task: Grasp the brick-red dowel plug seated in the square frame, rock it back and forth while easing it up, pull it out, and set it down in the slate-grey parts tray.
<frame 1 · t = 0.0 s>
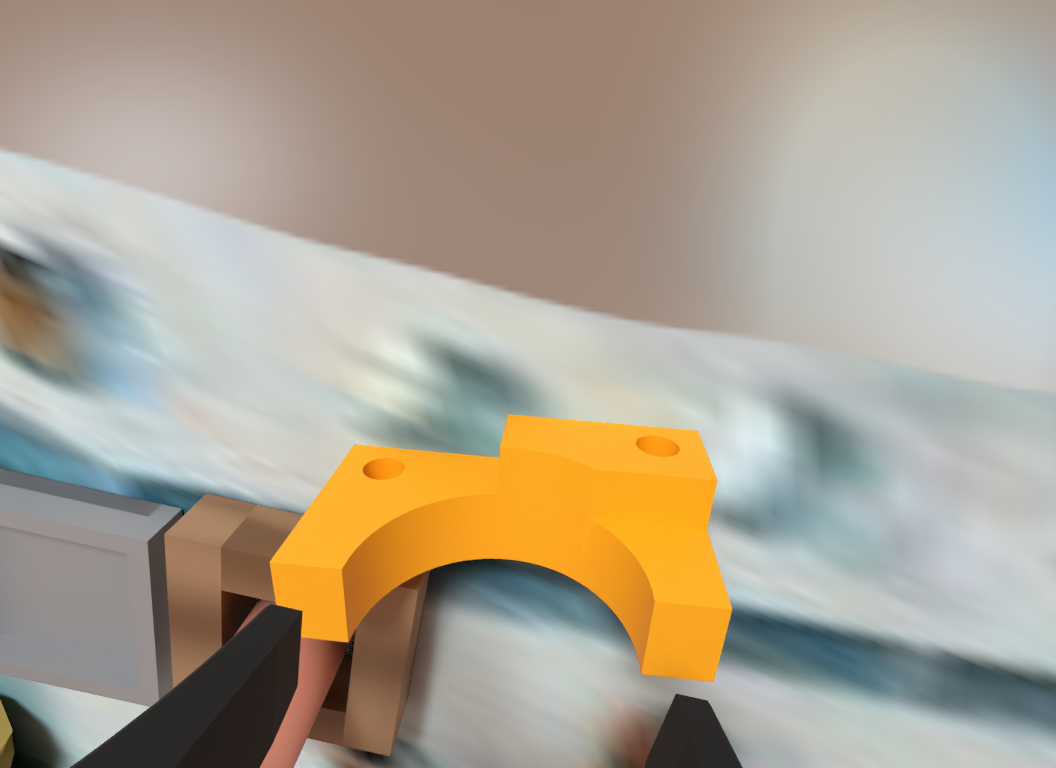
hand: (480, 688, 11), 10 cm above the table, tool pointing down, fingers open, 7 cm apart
ball valve: (4, 758, 31), on the table
pipe clamp: (519, 464, 21), on the table
parts tray: (81, 571, 25), on the table
plug: (314, 604, 24), resting in square frame
square frame: (314, 605, 24), on the table
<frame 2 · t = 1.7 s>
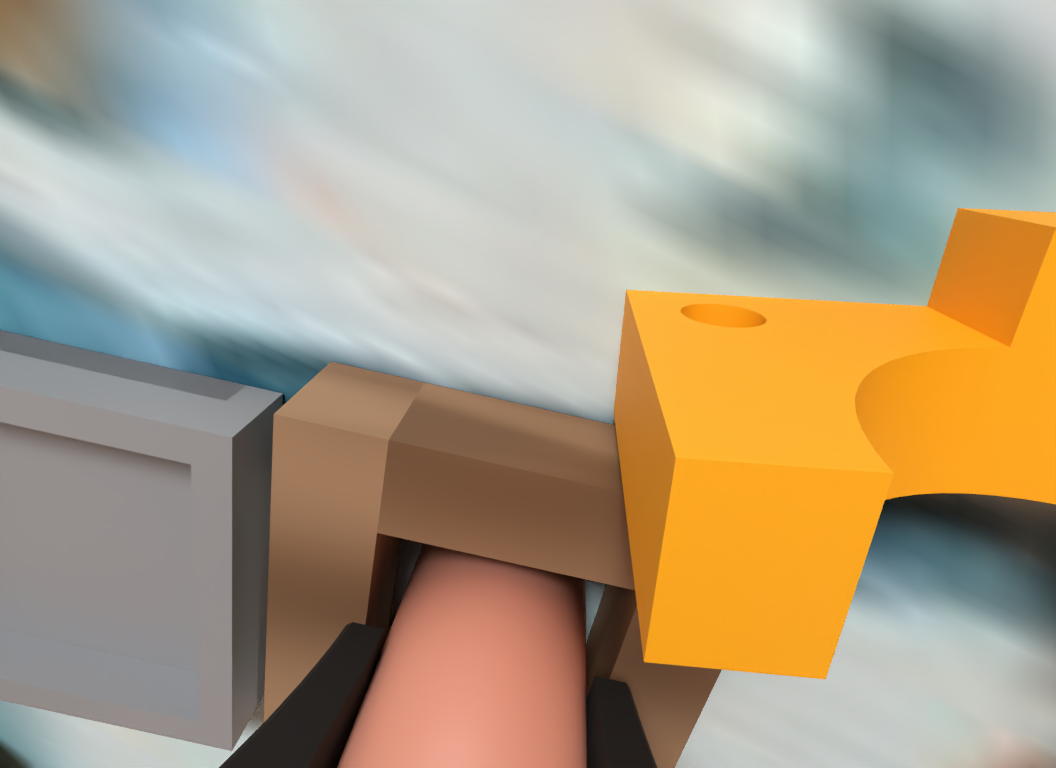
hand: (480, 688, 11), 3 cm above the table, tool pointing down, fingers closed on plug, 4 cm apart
pipe clamp: (935, 323, 11), on the table
parts tray: (97, 515, 14), on the table
plug: (501, 572, 14), resting in square frame, touching gripper
square frame: (501, 572, 14), on the table
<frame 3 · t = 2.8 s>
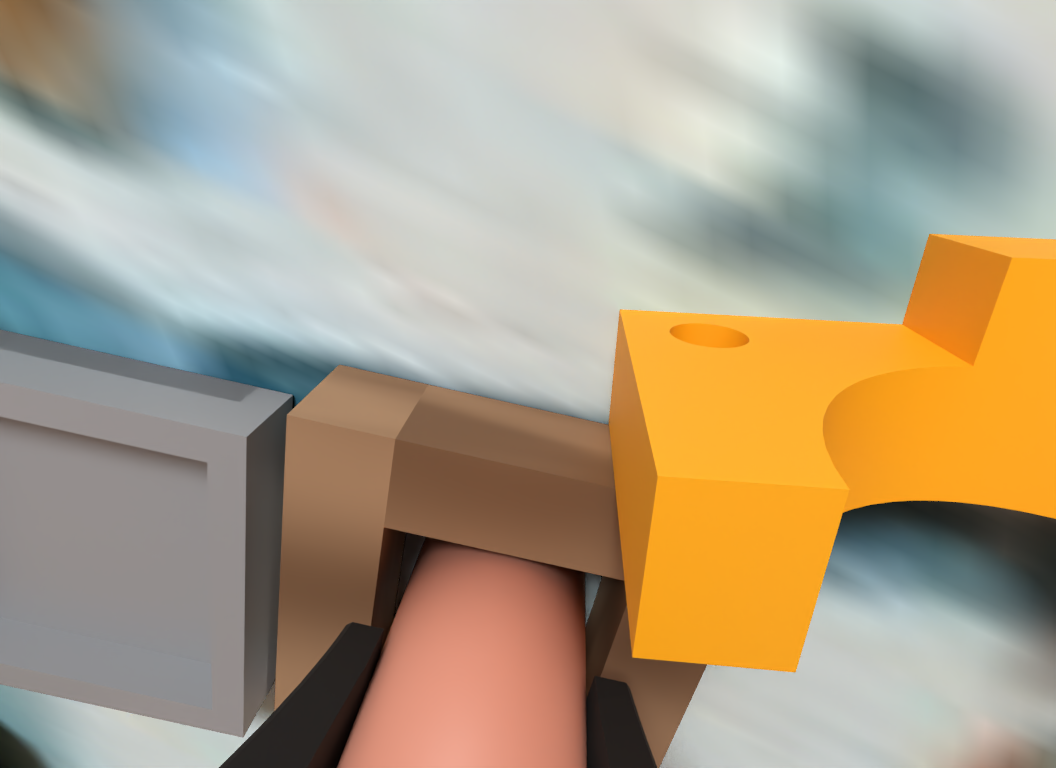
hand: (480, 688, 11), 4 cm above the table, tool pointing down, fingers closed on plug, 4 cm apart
pipe clamp: (910, 339, 12), on the table
parts tray: (114, 511, 15), on the table
plug: (501, 572, 14), point 1 cm above the table, touching gripper
square frame: (501, 566, 15), on the table
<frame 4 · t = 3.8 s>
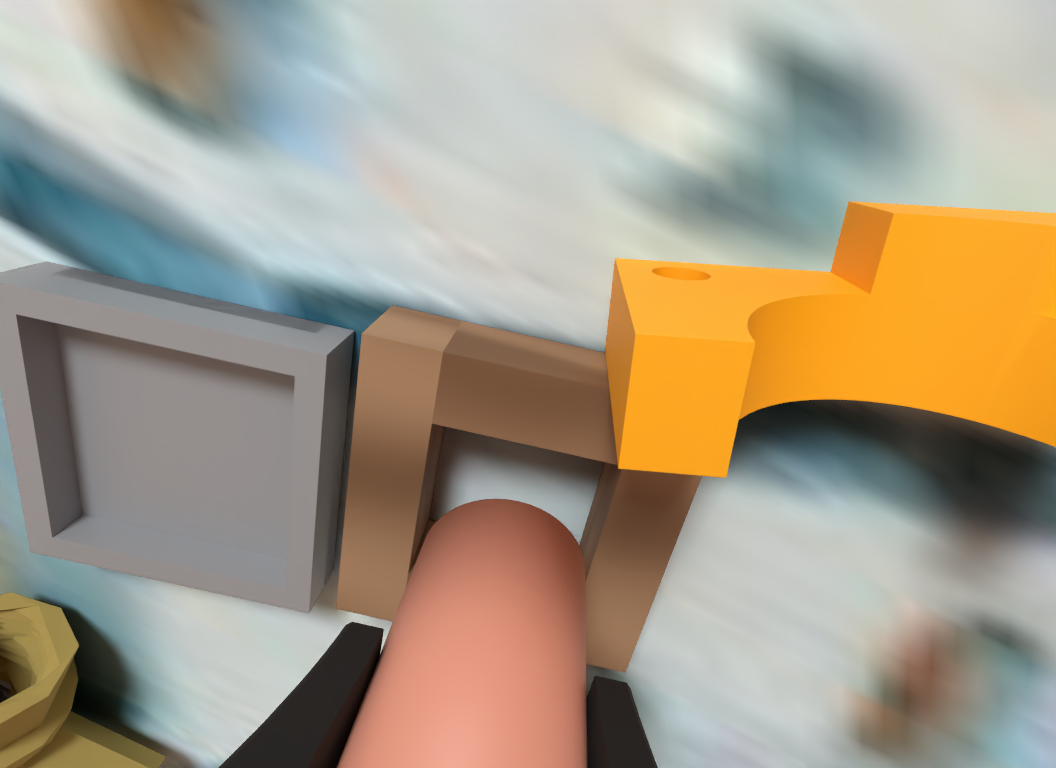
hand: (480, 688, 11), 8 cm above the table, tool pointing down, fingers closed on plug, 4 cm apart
ball valve: (60, 693, 25), on the table
pipe clamp: (838, 285, 16), on the table
parts tray: (204, 431, 18), on the table
plug: (502, 568, 14), point 4 cm above the table, touching gripper
square frame: (517, 473, 18), on the table
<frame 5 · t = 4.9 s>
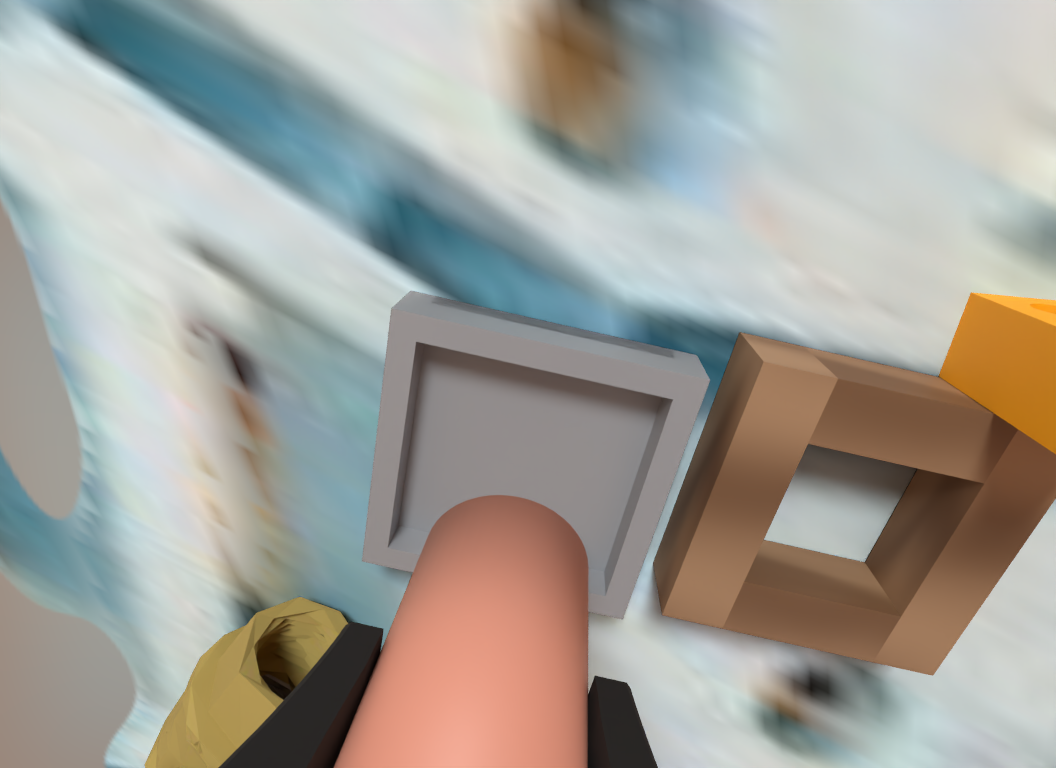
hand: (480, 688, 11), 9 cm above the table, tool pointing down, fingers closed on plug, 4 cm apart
ball valve: (305, 693, 26), on the table
parts tray: (524, 447, 20), on the table
plug: (505, 565, 14), point 6 cm above the table, touching gripper
square frame: (824, 488, 19), on the table
when the fingers open (5 cm above the table, at t = 5.9 s): plug stays where it is, resting on parts tray.
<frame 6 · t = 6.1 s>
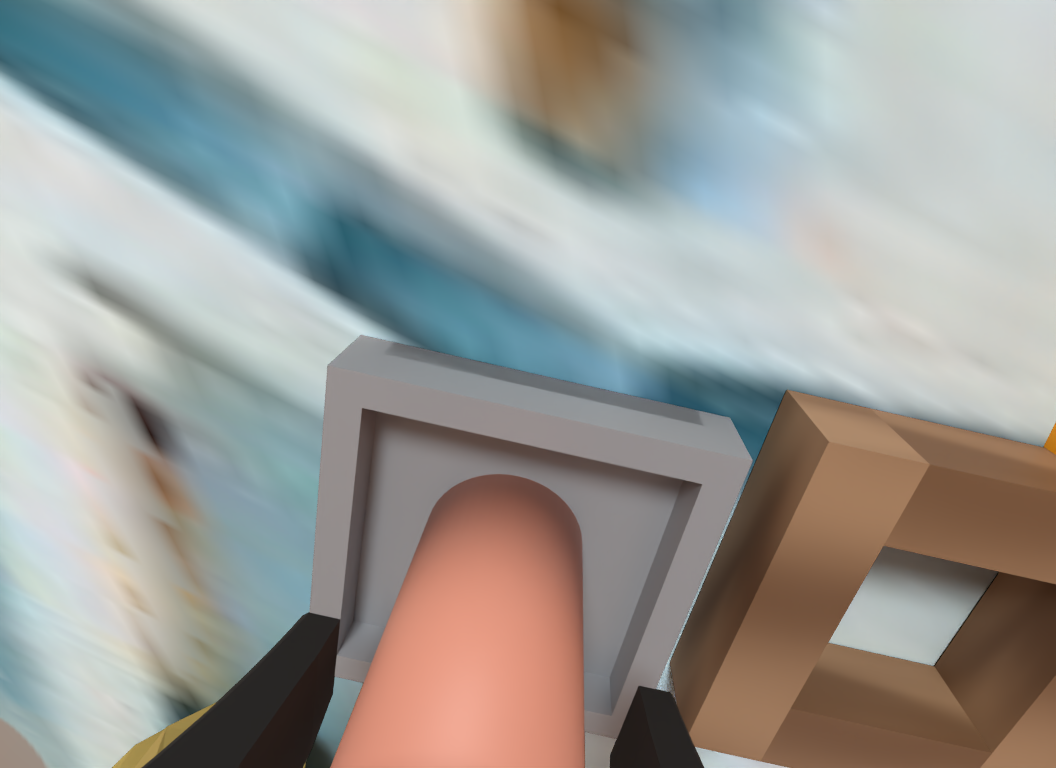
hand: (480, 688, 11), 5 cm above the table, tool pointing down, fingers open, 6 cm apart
parts tray: (509, 526, 16), on the table
plug: (503, 541, 15), point 1 cm above the table, touching parts tray
square frame: (888, 579, 15), on the table
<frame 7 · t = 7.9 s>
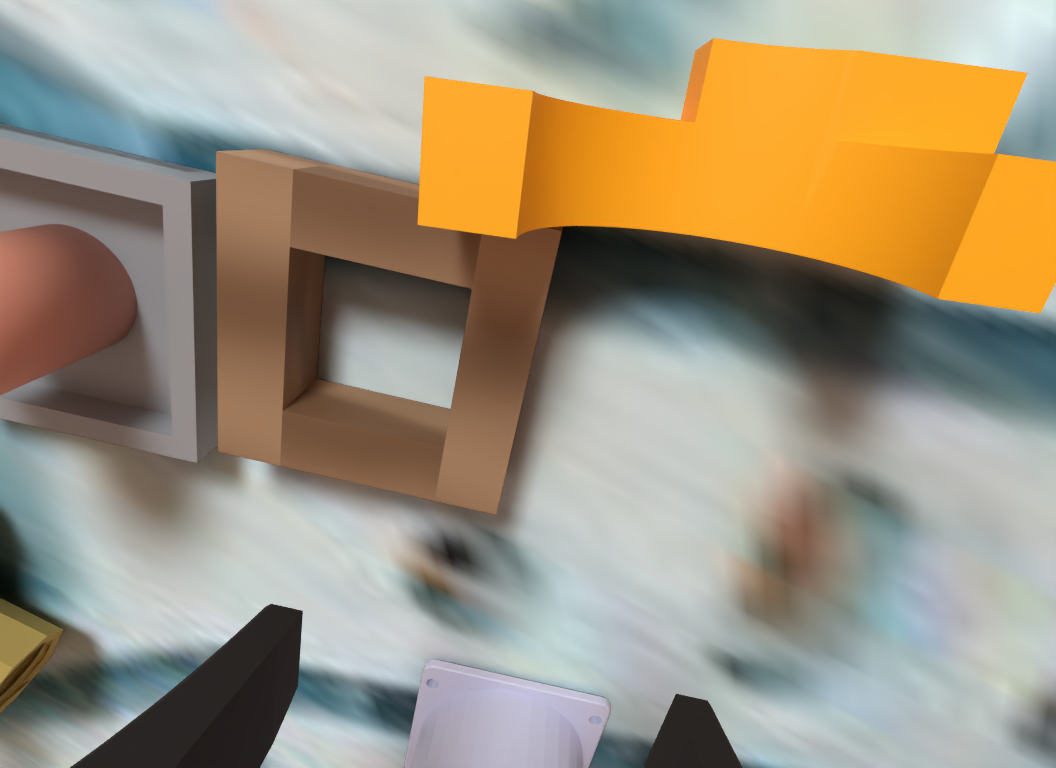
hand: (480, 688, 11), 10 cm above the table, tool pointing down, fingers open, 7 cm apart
pipe clamp: (690, 142, 16), on the table
parts tray: (97, 287, 19), on the table
plug: (74, 288, 18), point 1 cm above the table, touching parts tray
square frame: (396, 326, 19), on the table
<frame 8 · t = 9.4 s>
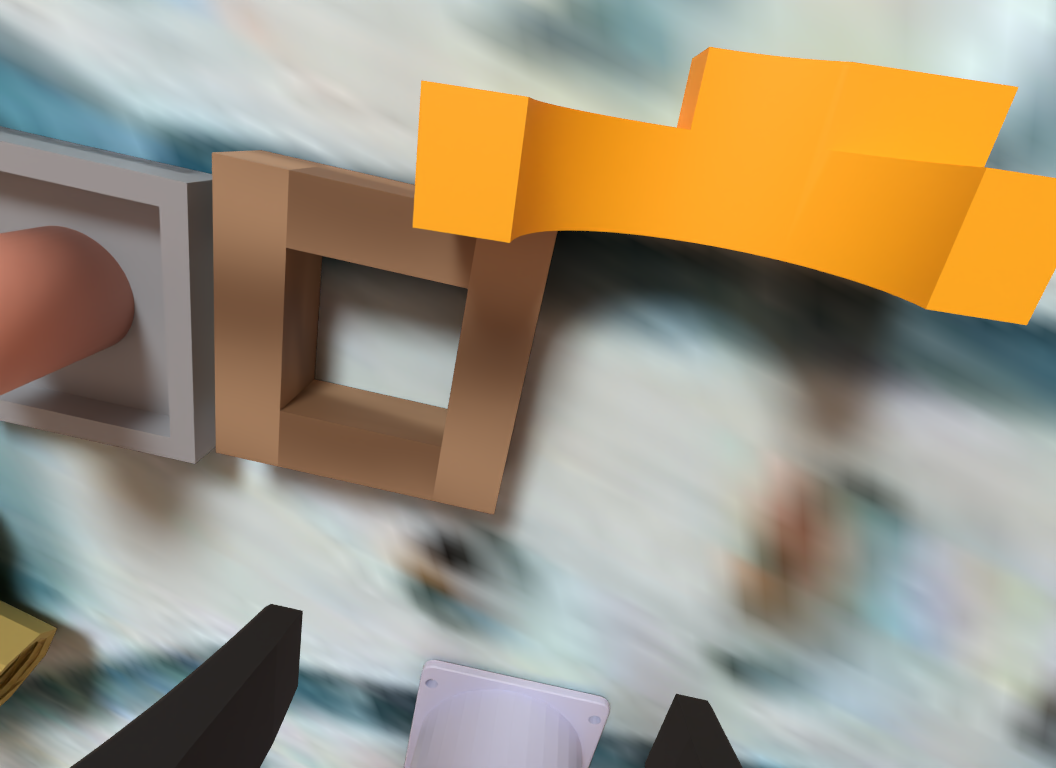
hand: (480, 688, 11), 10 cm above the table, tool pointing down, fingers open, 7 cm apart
pipe clamp: (686, 148, 17), on the table
parts tray: (95, 288, 19), on the table
plug: (72, 290, 18), point 1 cm above the table, touching parts tray
square frame: (394, 327, 19), on the table
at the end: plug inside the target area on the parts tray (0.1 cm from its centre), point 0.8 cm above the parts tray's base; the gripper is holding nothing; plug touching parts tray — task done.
